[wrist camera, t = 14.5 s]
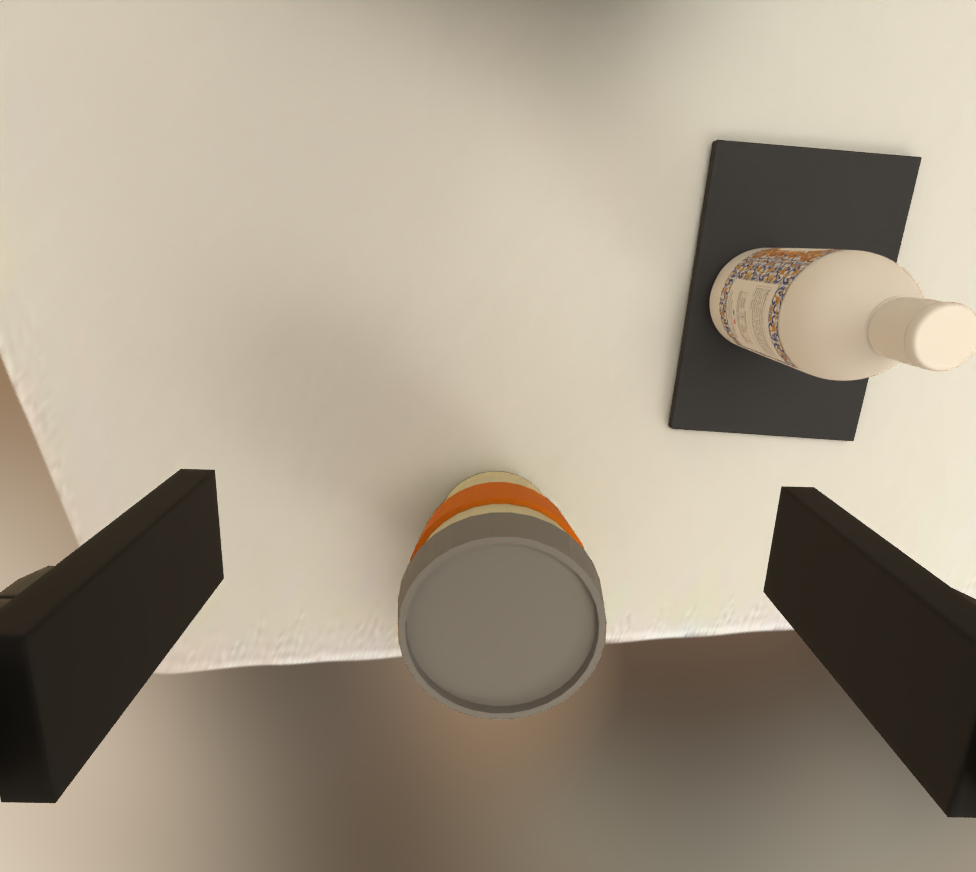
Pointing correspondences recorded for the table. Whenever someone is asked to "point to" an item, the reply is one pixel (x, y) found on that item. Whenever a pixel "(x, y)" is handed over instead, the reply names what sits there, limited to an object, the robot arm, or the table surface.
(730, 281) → the bath foam
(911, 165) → the desk mat
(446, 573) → the reusable coffee cup
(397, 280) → the table surface
